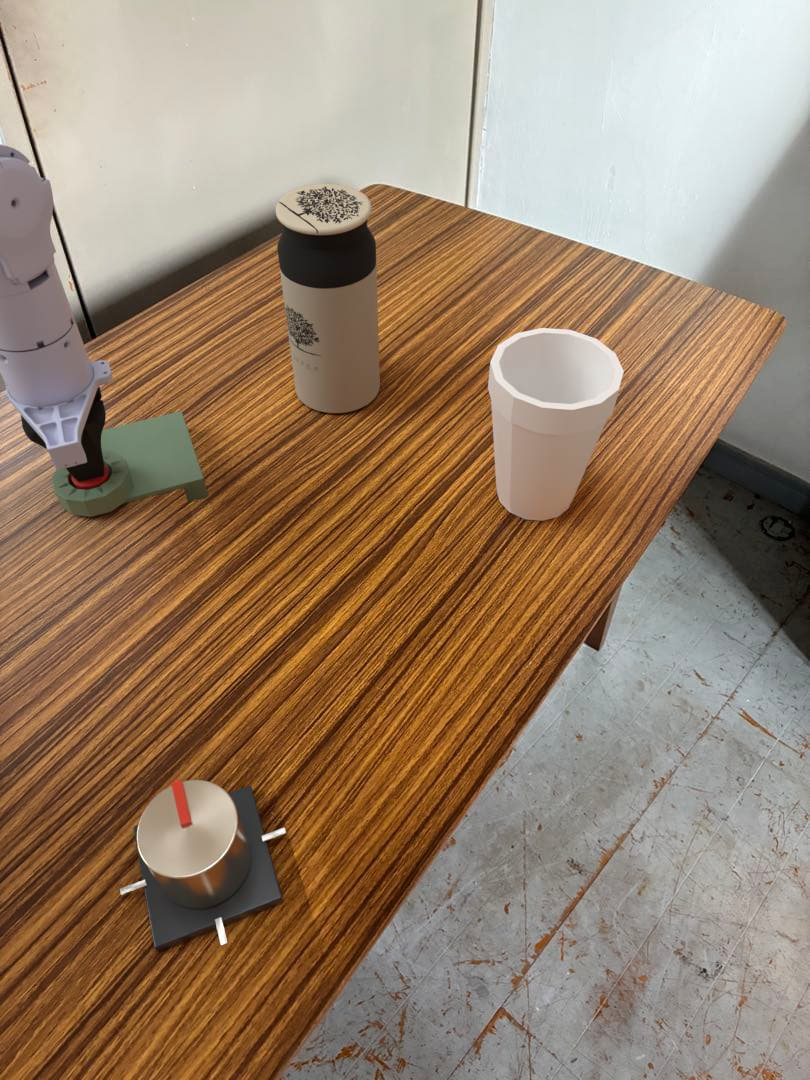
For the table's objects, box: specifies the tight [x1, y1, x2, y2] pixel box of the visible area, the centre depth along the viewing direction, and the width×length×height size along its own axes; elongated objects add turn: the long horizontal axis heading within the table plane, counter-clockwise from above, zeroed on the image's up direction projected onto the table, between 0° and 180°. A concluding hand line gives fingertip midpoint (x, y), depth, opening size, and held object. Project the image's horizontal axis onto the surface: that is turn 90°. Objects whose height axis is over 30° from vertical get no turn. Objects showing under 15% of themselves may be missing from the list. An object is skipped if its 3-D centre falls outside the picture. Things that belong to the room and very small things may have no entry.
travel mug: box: [275, 183, 381, 414], centre depth 70 cm, size 8×8×18 cm
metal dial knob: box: [136, 779, 251, 909], centre depth 44 cm, size 5×5×5 cm
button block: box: [51, 410, 209, 518], centre depth 67 cm, size 11×10×4 cm
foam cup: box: [487, 327, 625, 522], centre depth 63 cm, size 10×9×13 cm
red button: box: [72, 464, 111, 490], centre depth 65 cm, size 3×3×2 cm
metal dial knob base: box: [119, 785, 287, 952], centre depth 47 cm, size 9×9×3 cm
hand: (90, 473), depth 64 cm, fingers closed, pressing on red button
